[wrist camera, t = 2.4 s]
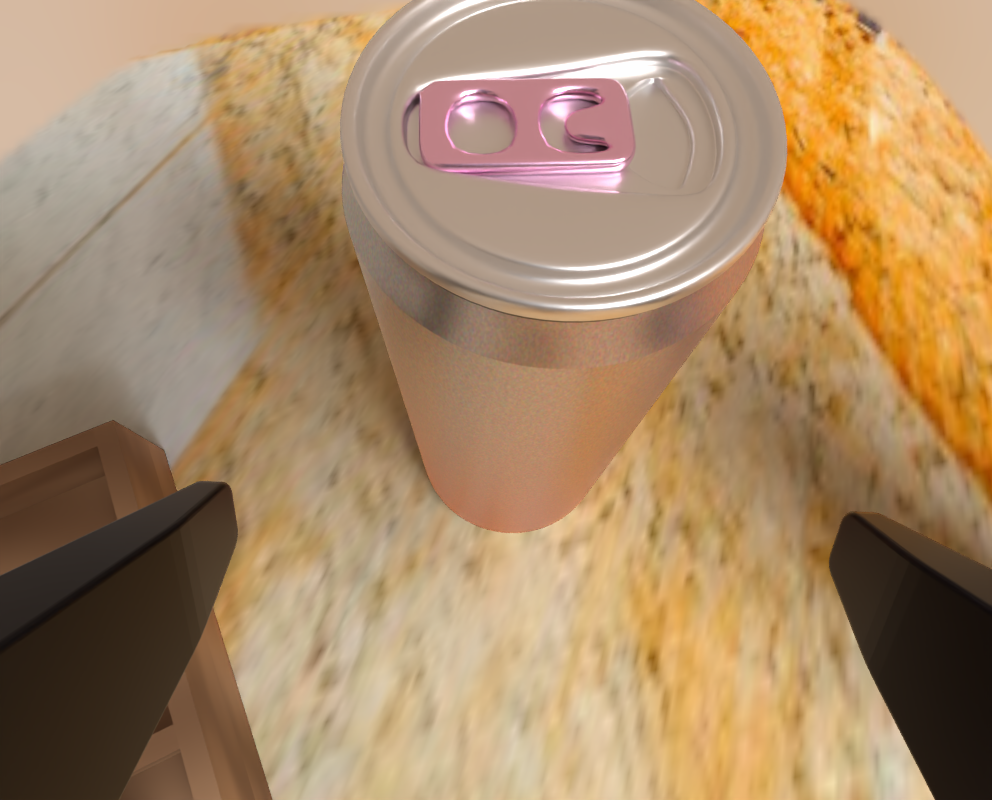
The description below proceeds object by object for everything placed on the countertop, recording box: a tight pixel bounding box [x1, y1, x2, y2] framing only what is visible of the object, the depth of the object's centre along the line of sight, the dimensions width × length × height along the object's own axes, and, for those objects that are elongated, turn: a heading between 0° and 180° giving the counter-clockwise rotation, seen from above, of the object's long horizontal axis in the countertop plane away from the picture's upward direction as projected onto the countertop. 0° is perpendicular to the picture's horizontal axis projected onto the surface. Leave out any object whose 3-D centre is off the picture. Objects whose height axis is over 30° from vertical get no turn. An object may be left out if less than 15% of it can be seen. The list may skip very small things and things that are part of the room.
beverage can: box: [340, 0, 787, 533], centre depth 15 cm, size 6×6×15 cm
